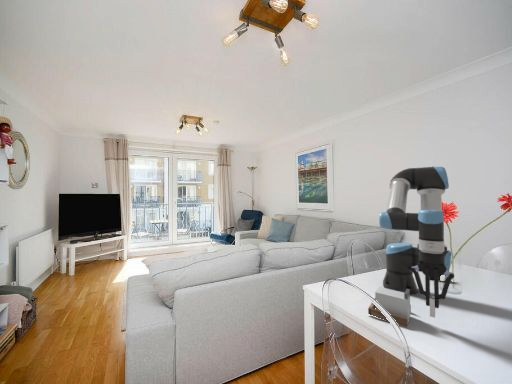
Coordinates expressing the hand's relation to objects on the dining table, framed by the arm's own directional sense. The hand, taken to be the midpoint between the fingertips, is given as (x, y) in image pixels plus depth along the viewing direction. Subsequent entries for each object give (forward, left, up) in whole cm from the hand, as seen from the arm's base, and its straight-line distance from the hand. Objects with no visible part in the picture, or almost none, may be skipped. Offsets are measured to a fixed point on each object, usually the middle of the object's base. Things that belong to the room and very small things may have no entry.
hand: (432, 315), depth 83 cm
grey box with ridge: (0, -13, -4) cm, 13 cm away
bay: (0, -13, -4) cm, 14 cm away
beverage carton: (-68, -1, -5) cm, 68 cm away
